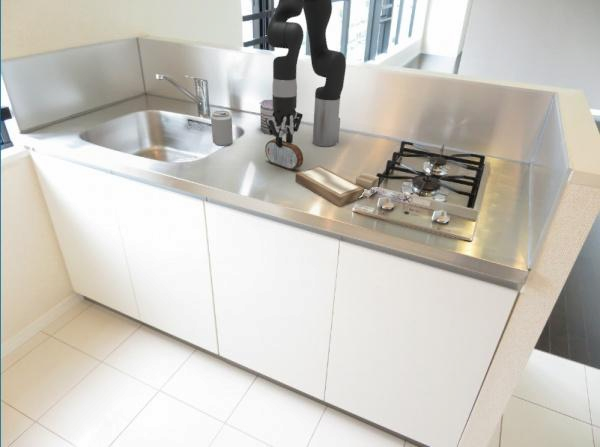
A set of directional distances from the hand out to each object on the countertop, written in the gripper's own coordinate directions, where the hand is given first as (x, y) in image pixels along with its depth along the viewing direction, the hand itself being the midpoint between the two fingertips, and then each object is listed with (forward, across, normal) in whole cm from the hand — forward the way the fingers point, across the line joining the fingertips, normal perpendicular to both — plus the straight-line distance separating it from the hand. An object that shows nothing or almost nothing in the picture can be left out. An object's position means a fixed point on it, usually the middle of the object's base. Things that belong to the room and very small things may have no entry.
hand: (284, 145), depth 137 cm
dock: (+7, 0, +22) cm, 23 cm away
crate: (+8, -8, +30) cm, 32 cm away
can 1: (+8, +6, -30) cm, 32 cm away
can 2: (+8, -18, -30) cm, 36 cm away
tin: (+7, 0, 0) cm, 7 cm away
